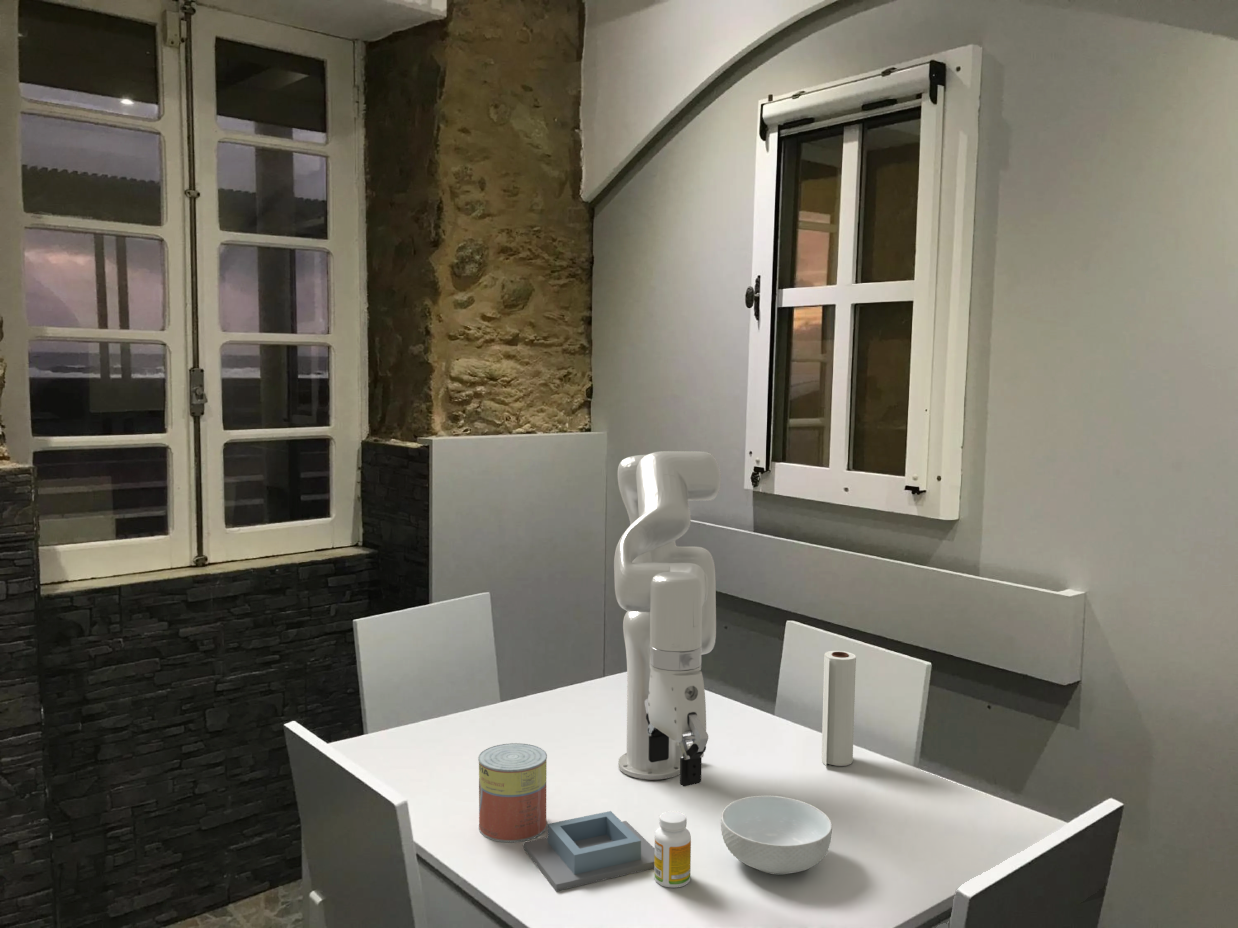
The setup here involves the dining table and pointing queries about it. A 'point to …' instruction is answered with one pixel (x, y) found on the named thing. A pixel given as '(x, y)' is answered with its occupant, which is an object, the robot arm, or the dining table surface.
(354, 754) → the dining table surface
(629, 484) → the robot arm
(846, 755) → the paper towel roll
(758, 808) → the cereal bowl
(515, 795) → the canned food
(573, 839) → the caddy
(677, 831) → the supplement bottle
